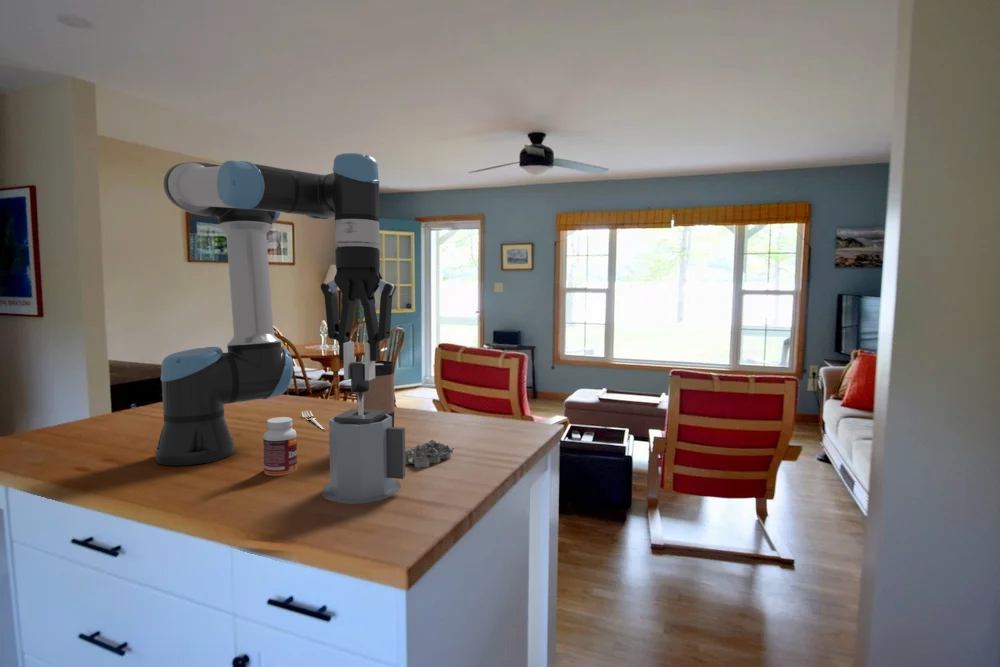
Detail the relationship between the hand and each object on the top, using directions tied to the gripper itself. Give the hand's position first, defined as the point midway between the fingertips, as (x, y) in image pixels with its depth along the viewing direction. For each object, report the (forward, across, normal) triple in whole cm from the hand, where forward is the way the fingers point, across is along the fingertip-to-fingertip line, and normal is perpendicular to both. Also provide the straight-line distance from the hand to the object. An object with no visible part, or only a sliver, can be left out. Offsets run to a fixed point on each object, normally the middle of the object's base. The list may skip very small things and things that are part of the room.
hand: (359, 378), depth 97 cm
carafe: (+20, +1, 0) cm, 20 cm away
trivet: (+21, 0, 0) cm, 21 cm away
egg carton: (+21, +6, +19) cm, 29 cm away
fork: (+21, -34, +44) cm, 60 cm away
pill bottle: (+21, -20, +6) cm, 30 cm away
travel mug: (+21, -8, +26) cm, 35 cm away
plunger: (+18, 0, 0) cm, 18 cm away
